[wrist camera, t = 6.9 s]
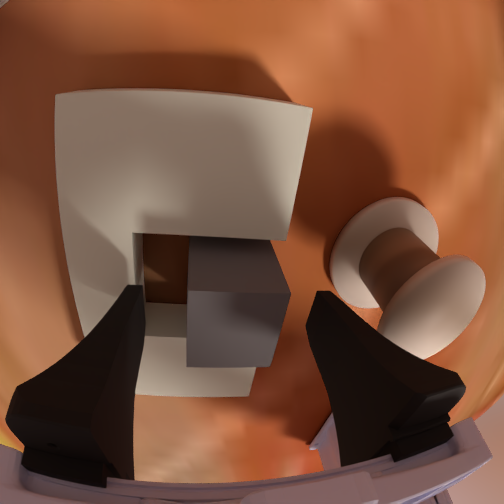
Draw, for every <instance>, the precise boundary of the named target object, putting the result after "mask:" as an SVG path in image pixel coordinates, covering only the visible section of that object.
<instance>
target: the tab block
mask: <svg viewBox="0 0 504 504" xmlns="http://www.w3.org/2000/svg"><path fill="white" fill-rule="evenodd" d="M290 296H291V292H290V289H289V287H288V284H287V282H286V279H285V277H284V274H283V272H282V269H281V267H280V264H279V262H278V259H277V257H276V254H275V252H274V249H273V247H272V244H271V242H270V240H264V239H247V238H229V237H211V236H192V235H190V239H189V258H188V281H187V324H186V367H201V368H245V367H270V365H271V362H272V359H273V355H274V352H275V348H276V345H277V342H278V338H279V335H280V331H281V328H282V324H283V321H284V317H285V314H286V310H287V306H288V303H289V299H290Z"/></svg>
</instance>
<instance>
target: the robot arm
mask: <svg viewBox="0 0 504 504" xmlns="http://www.w3.org/2000/svg"><path fill="white" fill-rule="evenodd" d="M145 327H146V319H145V308H144V296H143V285H130V284H128V285H127V286H126V287H125V288H124V290H123V291H122V293H121V294H120V295H119V297H118V298H117V300H116V301H115V302H114V304H113V305H112V306H111V308H110V309H109V310H108V311H107V313H106V314H105V315H104V317H103V318H102V319H101V320H100V321H99V322H98V324H97V325H96V326H95V327H94V328H93V329H92V330H91V332H90V333H89V334H88V335H87V336H86V337H85V338H84V339H83V340H82V341H81V342H80V343H79V344H78V345H77V346H76V347H74V348H73V349H72V350H71V351H70V352H69V353H68V354H66V355H65V356H64V357H63V358H62V359H60V360H59V361H58V362H56V363H55V364H54V365H52V366H51V367H49V368H48V369H46V370H45V371H43V372H42V373H40V374H39V375H37V376H35V377H33V378H32V379H30V380H28V381H26V382H24V383H22V384H21V385H19V386H17V387H16V389H15V392H14V394H13V396H12V399H11V402H10V405H9V408H8V411H7V415H6V418H5V420H6V424H7V425H8V427H9V428H10V430H11V431H12V432H13V433H14V435H15V436H16V437H17V438H18V439H19V440H20V441H21V442H22V443H23V444H24V446H25V447H24V452H23V453H22V452H20V451H18V450H16V449H14V448H11V447H8V446H5V445H2V444H0V504H453V503H452V500H451V498H450V496H449V493H448V491H447V488H449V487H451V486H453V485H455V484H457V483H458V482H460V481H461V480H463V479H464V478H466V477H467V476H469V475H470V474H472V473H473V472H474V471H476V470H477V469H479V468H480V467H481V466H483V465H484V464H485V463H486V462H488V461H489V460H491V459H492V457H493V456H492V454H491V452H490V450H489V448H488V446H487V444H486V443H485V441H484V439H483V437H482V435H481V433H480V431H479V430H478V428H477V426H476V425H475V423H474V421H473V419H472V417H469V418H467V419H465V420H463V421H460V422H458V423H456V424H454V425H453V426H451V427H449V425H448V423H447V422H449V421H450V417H449V415H448V412H449V411H450V410H451V409H452V408H453V407H454V406H455V405H456V404H457V403H458V402H459V400H460V399H461V398H462V397H463V395H464V393H465V390H466V386H465V385H464V383H463V381H462V380H461V378H460V377H459V375H458V374H457V373H456V372H453V371H450V370H448V369H445V368H442V367H439V366H436V365H434V364H432V363H429V362H427V361H425V360H423V359H421V358H419V357H417V356H415V355H413V354H411V353H409V352H408V351H406V350H404V349H402V348H401V347H399V346H398V345H396V344H395V343H393V342H392V341H390V340H389V339H387V338H386V337H384V336H383V335H382V334H380V333H379V332H378V331H376V330H375V329H374V328H373V327H371V326H370V325H369V324H368V323H366V322H365V321H364V320H363V319H362V318H361V317H359V316H358V315H357V314H356V313H355V312H354V311H353V310H352V309H350V308H349V307H348V306H347V305H346V304H345V303H344V302H343V301H341V300H340V299H339V298H338V297H337V296H336V295H335V294H333V293H332V292H331V291H317V293H316V296H315V299H314V302H313V305H312V308H311V311H310V314H309V317H308V320H307V323H306V330H307V335H308V339H309V344H310V347H311V350H312V353H313V355H314V358H315V360H316V363H317V366H318V368H319V371H320V373H321V376H322V379H323V381H324V384H325V387H326V390H327V393H328V396H329V400H330V404H331V409H332V413H331V415H330V416H329V418H328V419H327V421H326V422H325V424H324V425H323V427H322V428H321V430H320V431H319V433H318V434H317V436H316V437H315V438H314V440H313V441H312V443H311V444H310V446H309V449H310V450H314V449H318V451H319V455H320V458H321V461H322V465H323V468H324V471H321V472H315V473H310V474H304V475H298V476H291V477H284V478H277V479H268V480H258V481H247V482H232V483H161V482H146V481H135V480H134V460H133V418H134V398H135V390H136V384H137V379H138V373H139V368H140V363H141V358H142V352H143V347H144V339H145Z"/></svg>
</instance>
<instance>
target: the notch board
mask: <svg viewBox="0 0 504 504" xmlns="http://www.w3.org/2000/svg"><path fill="white" fill-rule="evenodd" d="M312 111H313V108H310V107H307V106H304V105H301V104H297V103H294V102H289V101H283V100H277V99H270V98H263V97H256V96H249V95H241V94H232V93H222V92H211V91H199V90H183V89H157V88H115V89H91V90H78V91H72V92H66V93H61V94H55V163H56V180H57V192H58V202H59V212H60V220H61V228H62V235H63V241H64V248H65V254H66V259H67V265H68V270H69V275H70V280H71V285H72V290H73V294H74V298H75V303H76V307H77V311H78V315H79V319H80V323H81V326H82V330H83V334H84V337H86V336H87V335H88V334H89V333H90V332H91V330H92V329H93V328H94V327H95V326H96V325H97V324H98V322H99V321H100V320H101V319H102V318H103V317H104V315H105V314H106V313H107V311H108V310H109V309H110V308H111V306H112V305H113V304H114V302H115V301H116V300H117V298H118V297H119V295H120V294H121V293H122V291H123V290H124V288H125V287H126V286H127V285H128V284H130V285H143V296H144V308H145V319H146V327H145V339H144V347H143V352H142V358H141V363H140V368H139V373H138V379H137V384H136V390H135V394H141V395H156V396H178V397H244V396H249V393H250V390H251V386H252V382H253V378H254V374H255V370H256V367H245V368H201V367H186V324H187V304H168V303H149V302H146V299H145V284H144V265H143V236H142V233H153V234H173V235H192V236H211V237H229V238H247V239H264V240H281V241H286V238H287V234H288V229H289V225H290V220H291V215H292V211H293V206H294V201H295V196H296V192H297V187H298V182H299V177H300V172H301V167H302V162H303V157H304V152H305V147H306V142H307V137H308V132H309V127H310V121H311V116H312Z"/></svg>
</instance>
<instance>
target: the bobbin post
mask: <svg viewBox="0 0 504 504" xmlns="http://www.w3.org/2000/svg"><path fill="white" fill-rule="evenodd" d="M437 248H438V228H437V224H436V222H435V219H434V218H433V216H432V214H431V213H430V212H429V211H428V210H427V209H426V208H424V207H423V206H422V205H420V204H419V203H418V202H416V201H414V200H412V199H409V198H405V197H390V198H385V199H381V200H379V201H376V202H374V203H372V204H370V205H368V206H367V207H365V208H363V209H362V210H361V211H359V212H358V213H357V214H356V215H355V216H354V217H353V218H352V219H351V220H350V221H349V222H348V223H347V224H346V225H345V227H344V228H343V229H342V231H341V232H340V234H339V235H338V237H337V239H336V241H335V243H334V246H333V249H332V252H331V256H330V264H329V269H330V276H331V280H332V283H333V285H334V287H335V288H336V290H337V292H338V293H339V295H340V296H341V297H342V298H343V300H345V301H346V302H347V303H349V304H351V305H353V306H356V307H360V308H377V307H380V308H381V309H382V311H383V314H382V316H381V319H380V321H379V325H378V329H377V331H378V332H379V333H380V334H382V335H383V336H384V337H386V338H387V339H389V340H390V341H392V342H393V343H395V344H396V345H398V346H399V347H401V348H402V349H404V350H406V351H408V352H409V353H411V354H413V355H415V356H417V357H419V358H421V359H426V358H428V357H430V356H432V355H434V354H436V353H437V352H439V351H440V350H442V349H443V348H445V347H446V346H447V345H449V344H450V343H451V342H452V341H453V340H454V339H456V338H457V337H458V336H459V335H460V334H461V333H462V332H463V330H464V329H465V328H466V327H467V326H468V324H469V323H470V322H471V320H472V319H473V317H474V316H475V314H476V312H477V310H478V309H479V307H480V304H481V302H482V299H483V296H484V292H485V285H486V283H485V275H484V273H483V271H482V269H481V268H480V267H479V266H478V265H477V264H476V263H475V262H474V261H473V260H472V259H470V258H469V257H467V256H464V255H450V256H446V257H443V258H440V257H439V256H438V255H437V254H436V252H437Z"/></svg>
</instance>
